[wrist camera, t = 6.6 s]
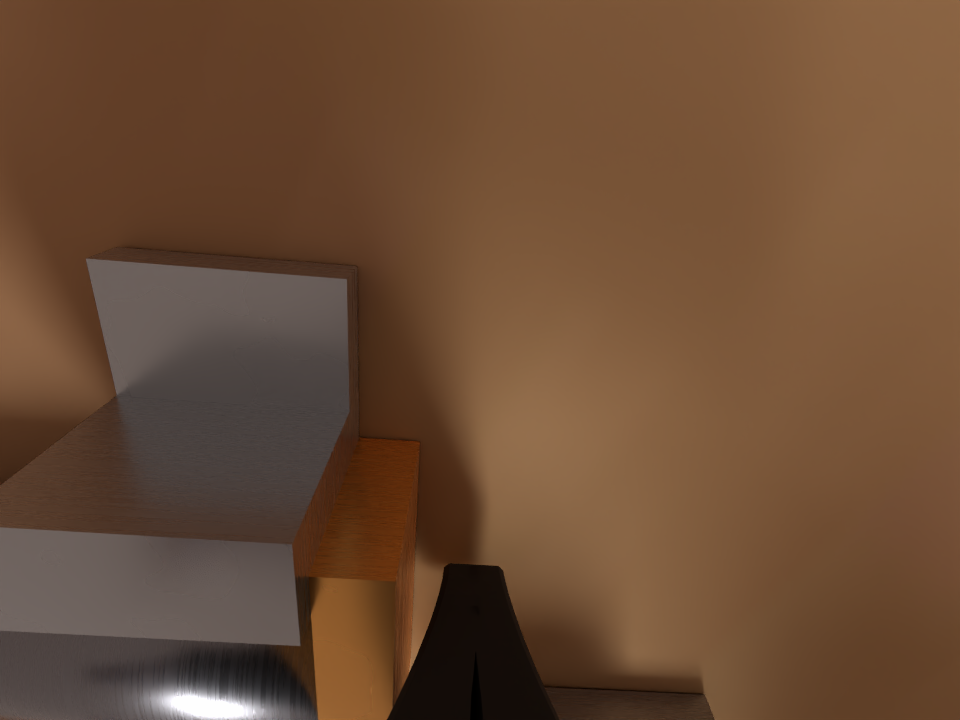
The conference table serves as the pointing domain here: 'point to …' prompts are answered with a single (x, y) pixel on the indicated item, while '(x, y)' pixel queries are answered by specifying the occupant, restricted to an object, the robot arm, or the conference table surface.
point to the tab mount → (627, 705)
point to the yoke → (192, 456)
